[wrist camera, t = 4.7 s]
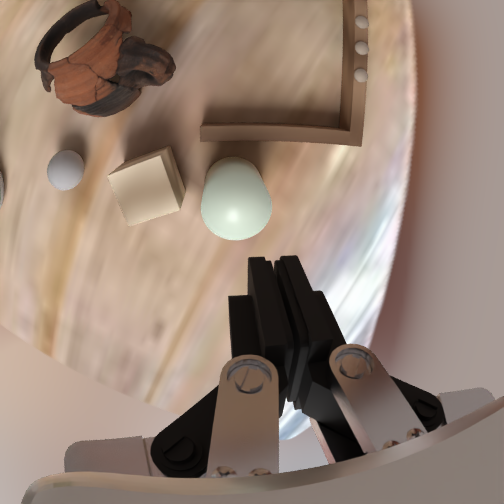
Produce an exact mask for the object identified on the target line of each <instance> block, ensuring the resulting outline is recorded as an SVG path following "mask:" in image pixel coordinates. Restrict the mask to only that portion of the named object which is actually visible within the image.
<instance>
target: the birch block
mask: <svg viewBox="0 0 504 504" xmlns="http://www.w3.org/2000/svg"><path fill="white" fill-rule="evenodd" d="M107 177H108V179H109V182H110V184H111V187H112V189H113V192H114V194H115V196H116V199H117V201H118V203H119V206H120V208H121V210H122V213H123V215H124V217H125V220H126V222H127V224H128V226H129V227H130V226H132V225H135V224H138V223H141V222H144V221H148V220H151V219H154V218H157V217H160V216H163V215H166V214H169V213H172V212H176V211H179V210H180V208H181V205H182V202H183V199H184V196H185V193H186V191H185V188H184V185H183V182H182V179H181V176H180V174H179V171H178V168H177V165H176V162H175V159H174V156H173V153H172V150H171V147H170V146H167V147H164V148H161V149H158V150H155V151H153V152H150V153H147V154H144V155H142V156H139V157H137V158H134V159H131V160H129V161H126V162H124V163H123V164H121V165H120V166H119V167H118V168H116V169H115V170H114V171H113V172H111V173H110V174H109V175H108V176H107Z"/></svg>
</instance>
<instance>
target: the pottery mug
mask: <svg viewBox="0 0 504 504" xmlns="http://www.w3.org/2000/svg"><path fill="white" fill-rule="evenodd" d="M105 14H109V16H108V18H107V20H106V23H105V25H104V26H103V27H102V28H101V30H100V31H99V32H98V33H97V34H96V35H95V36H94V37H93V38H92V39H91V40H90V41H88V42H87V43H86V44H85V45H84V46H83V47H81V48H80V49H79V50H77V51H76V52H74V53H73V54H71V55H70V56H69V57H66V58H64V59H62V60H59V61H56V62H52V63H50V59H51V55H52V53H53V50H54V49H55V47H56V46H57V45H58V44H59V43H60V41H61V40H62V39H63V37H64V36H65V34H66V33H69V32H71V31H72V30H73V29H74V28H76V27H77V26H78V25H80V24H81V23H82V22H84V21H86V20H87V19H90V18H93V17H96V16H100V15H105ZM131 16H132V15H131V12H130V11H128V10H127V9H126V8H125V7H123V6H120V4H119V2H118V1H116V0H107V1H105V2H104V6H100V5H99V4H98V1H97V0H90V1H87V2H85V3H83V4H81V5H79V6H77V7H75V8H74V9H72V10H71V11H69V12H68V13H66V14H65V15H64V16H63V17H62V18H61V19H60V20H58V21H57V22H56V23H55V24H54V25H53V26H52V27H51V28H50V29H49V31H48V32H47V33H46V34H45V35H44V37H43V38H42V40H41V41H40V43H39V45H38V47H37V51H36V53H35V59H34V61H35V67H36V69H38V70H40V71H41V78H42V82H43V86H44V88H45V90H46V91H47V92H50V91H51V87H50V85H51V82H52V80H53V79H55V81H54V86H55V92H56V97H57V98H58V99H60V100H61V101H62V102H63V103H66V104H72V107H73V109H74V110H75V111H76V112H78V113H80V114H85V115H90V116H94V117H106V116H110V115H114V114H116V113H118V112H120V111H122V110H124V109H125V108H127V107H128V106H130V105H131V104H132V103H133V102H134V101H135V100H136V99H137V98H138V97H139V96H140V94H141V93H140V91H139V89H138V88H141V87H144V86H148V85H152V86H161V85H163V84H164V83H166V82H167V81H169V80H170V79H171V78H172V76H173V73H174V71H175V69H176V66H175V63H174V61H173V58H172V57H171V56H170V54H169V53H168V52H166V51H165V50H163V49H162V48H159V47H157V46H154V45H151V44H146V43H145V41H144V40H143V39H140V38H138V37H136V36H131V37H128V38H127V39H125V41H124V42H123V40H122V39H123V38H122V34H123V33H130V32H131V30H132V27H131ZM116 74H118V75H119V76H120V80H119V82H118V83H116V82H113V81H110V80H109V79H110V78H112V77H114V76H115V75H116Z"/></svg>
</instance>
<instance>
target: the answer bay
mask: <svg viewBox="0 0 504 504" xmlns="http://www.w3.org/2000/svg"><path fill="white" fill-rule="evenodd" d="M368 26H369V22H368V11H367V0H343V65H342V89H341V106H340V120H339V128H335V127H325V126H312V125H298V124H276V123H209V124H202V125H201V126H200V142H206V141H290V142H310V143H326V144H338V145H349V146H359V147H361V146H362V136H363V126H364V114H365V101H366V84H367V79H368V74H367V58H368V51H369V48H368Z"/></svg>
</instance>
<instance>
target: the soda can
mask: <svg viewBox="0 0 504 504" xmlns="http://www.w3.org/2000/svg"><path fill="white" fill-rule="evenodd" d="M3 197H4V181H3V176H2V173H1V171H0V208H1V206H2V202H3Z"/></svg>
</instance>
